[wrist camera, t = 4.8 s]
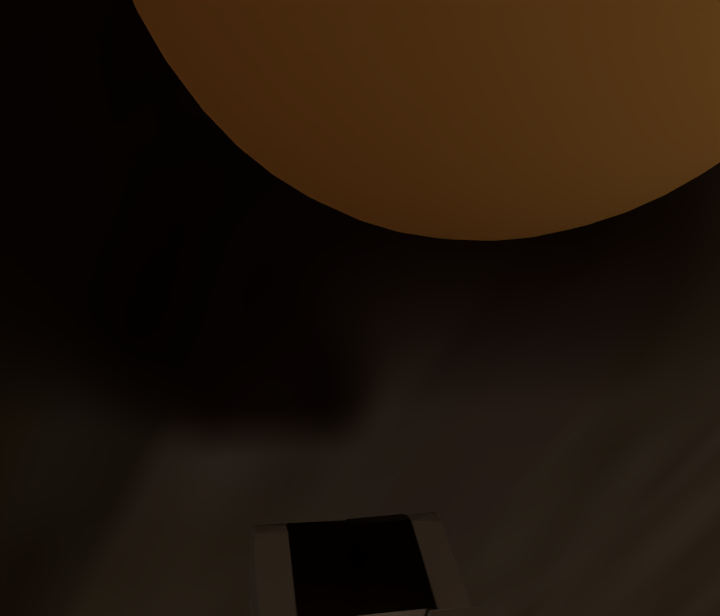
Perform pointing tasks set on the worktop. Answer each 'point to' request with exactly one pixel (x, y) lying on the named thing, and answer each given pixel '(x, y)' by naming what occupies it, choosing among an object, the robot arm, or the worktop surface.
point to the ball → (458, 103)
